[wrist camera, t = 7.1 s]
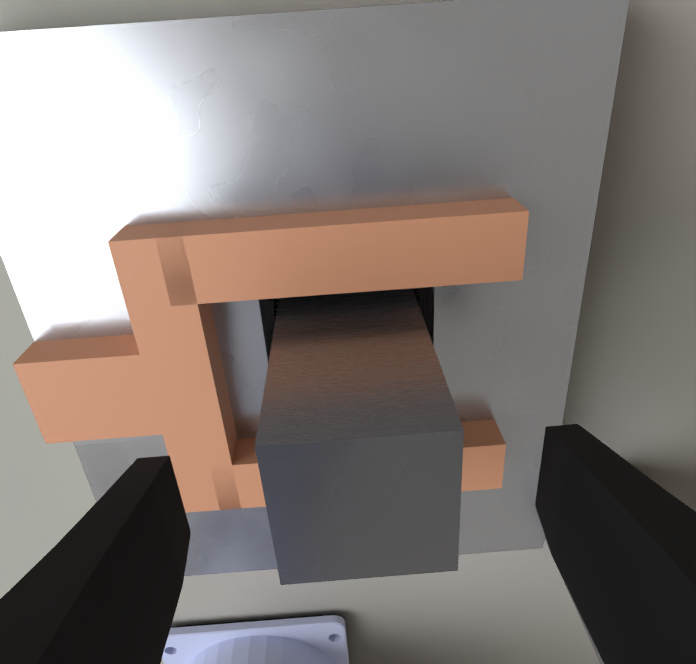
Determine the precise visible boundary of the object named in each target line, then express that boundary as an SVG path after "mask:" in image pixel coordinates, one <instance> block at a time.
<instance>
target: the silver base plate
mask: <svg viewBox="0 0 696 664" xmlns="http://www.w3.org/2000/svg"><path fill="white" fill-rule="evenodd" d="M628 6H629V0H456V1H441V2H427V3H412V4H398V5H383V6H369V7H355V8H340V9H326V10H311V11H297V12H283V13H268V14H254V15H239V16H225V17H211V18H196V19H182V20H167V21H153V22H139V23H124V24H110V25H95V26H81V27H66V28H52V29H38V30H23V31H9V32H0V254H1V256H2V259H3V262H4V264H5V267H6V269H7V272H8V274H9V277H10V280H11V282H12V285H13V287H14V290H15V293H16V295H17V298H18V300H19V303H20V306H21V308H22V311H23V313H24V316H25V319H26V321H27V324H28V326H29V329H30V331H31V334H32V337H33V339H34V341H48V340H61V339H75V338H88V337H102V336H115V335H128V334H134V333H133V329H132V326H131V322H130V319H129V315H128V312H127V308H126V305H125V301H124V298H123V294H122V290H121V287H120V283H119V280H118V276H117V273H116V269H115V266H114V262H113V259H112V255H111V252H110V248H109V245H108V241H109V240H110V239H111V238H112V237H113V236H114V235H115V234H116V233H117V232H118V231H119V230H121V229H122V228H123V227H124V226H131V225H145V224H159V223H173V222H187V221H200V220H214V219H228V218H242V217H255V216H269V215H283V214H297V213H311V212H324V211H338V210H352V209H366V208H380V207H393V206H407V205H421V204H435V203H449V202H462V201H476V200H490V199H504V198H514V199H515V200H517V201H518V202H519V203H520V204H521V205H523V206H524V207H525V208H526V209H527V210H529V218H528V228H527V238H526V249H525V259H524V269H523V279H522V280H517V281H504V282H490V283H477V284H463V285H450V286H436V287H423V288H419V308H420V311H421V313H422V316H423V319H424V322H425V324H426V327H427V330H428V333H429V335H430V338H431V341H432V344H433V346H434V349H435V352H436V355H437V357H438V360H439V363H440V365H441V368H442V371H443V374H444V376H445V379H446V382H447V385H448V387H449V390H450V393H451V396H452V398H453V401H454V404H455V407H456V409H457V412H458V415H459V418H460V420H461V422H466V421H479V420H492V419H495V421H496V423H497V425H498V428H499V430H500V432H501V434H502V436H503V439H504V441H505V443H506V451H505V461H504V471H503V481H502V488H500V489H487V490H474V491H461V509H460V531H459V553H458V555H460V554H473V553H486V552H499V551H511V550H524V549H537V548H543V543H544V537H545V534H544V531H543V528H542V525H541V522H540V519H539V516H538V513H537V510H536V507H535V501H536V494H537V486H538V479H539V472H540V465H541V457H542V450H543V443H544V435H545V428H546V426H559V425H562V423H563V417H564V410H565V404H566V398H567V391H568V385H569V379H570V372H571V366H572V360H573V353H574V347H575V341H576V334H577V328H578V322H579V315H580V309H581V303H582V296H583V290H584V284H585V278H586V271H587V265H588V259H589V252H590V246H591V240H592V233H593V227H594V221H595V214H596V208H597V202H598V195H599V189H600V183H601V176H602V170H603V164H604V157H605V151H606V145H607V138H608V132H609V126H610V119H611V113H612V107H613V101H614V94H615V88H616V82H617V75H618V69H619V63H620V56H621V50H622V44H623V37H624V31H625V25H626V18H627V12H628ZM210 304H211V309H212V314H213V319H214V324H215V329H216V334H217V339H218V344H219V349H220V354H221V359H222V364H223V369H224V374H225V379H226V384H227V389H228V394H229V399H230V404H231V409H232V414H233V419H234V424H235V429H236V434H237V439H242V438H255V437H256V436H257V430H258V424H259V418H260V412H261V406H262V399H263V393H264V387H265V381H266V375H267V369H268V363H269V357H270V351H271V345H272V339H273V333H274V327H275V315H274V308H273V300H272V299H260V300H246V301H233V302H219V303H210ZM73 443H74V445H75V448H76V451H77V453H78V456H79V458H80V461H81V464H82V466H83V469H84V471H85V474H86V477H87V479H88V482H89V484H90V487H91V490H92V492H93V495H94V497H95V500H96V502H97V501H98V500H99V499H100V498H101V497H102V496H103V495H104V494H105V493H106V492H107V490H108V489H109V488H110V487H111V486H112V485H113V484H114V483H115V482H116V481H117V480H118V479H119V477H120V476H121V475H122V474H123V473H124V472H125V471H126V470H127V469H128V468H129V467H130V466H131V465H132V464H133V462H134V461H135V460H136V459H137V458H145V457H158V456H168V453H167V449H166V446H165V442H164V438H163V435H151V436H138V437H125V438H111V439H98V440H85V441H73ZM186 516H187V520H188V523H189V527H190V530H191V535H190V542H189V549H188V555H187V562H186V568H185V574H184V576H191V575H204V574H216V573H229V572H242V571H255V570H268V569H278V567H277V562H276V557H275V551H274V546H273V541H272V535H271V530H270V525H269V520H268V514H267V509H266V507H253V508H240V509H227V510H214V511H201V512H188V513H186Z"/></svg>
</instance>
